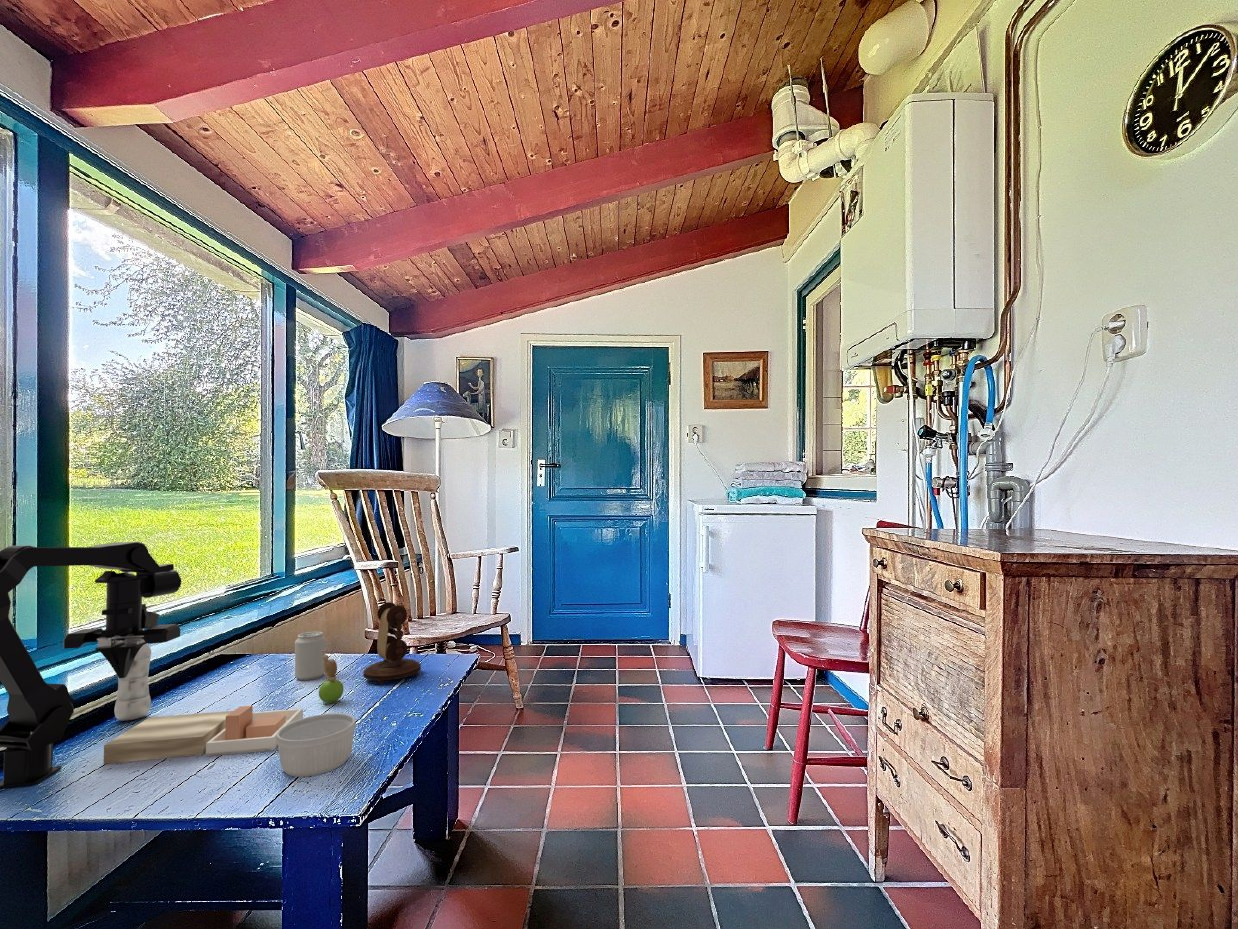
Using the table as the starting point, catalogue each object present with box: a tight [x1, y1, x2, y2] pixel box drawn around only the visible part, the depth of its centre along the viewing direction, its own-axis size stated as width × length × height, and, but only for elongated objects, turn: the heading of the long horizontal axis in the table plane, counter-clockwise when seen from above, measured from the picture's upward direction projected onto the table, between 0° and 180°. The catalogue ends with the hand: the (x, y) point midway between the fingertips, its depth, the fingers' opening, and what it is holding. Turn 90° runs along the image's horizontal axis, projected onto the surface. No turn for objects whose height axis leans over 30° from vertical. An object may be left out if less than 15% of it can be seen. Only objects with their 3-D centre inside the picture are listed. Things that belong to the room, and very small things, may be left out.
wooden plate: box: [103, 710, 234, 765], centre depth 119 cm, size 14×17×4 cm
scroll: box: [362, 601, 422, 686], centre depth 161 cm, size 15×15×20 cm
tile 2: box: [246, 715, 286, 739], centre depth 122 cm, size 6×6×2 cm
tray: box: [205, 707, 304, 757], centre depth 122 cm, size 16×12×2 cm
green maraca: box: [318, 649, 345, 704], centre depth 142 cm, size 5×6×12 cm
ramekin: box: [276, 712, 357, 778], centre depth 109 cm, size 13×13×7 cm
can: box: [294, 631, 326, 681], centre depth 163 cm, size 8×8×12 cm
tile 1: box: [225, 705, 254, 740], centre depth 120 cm, size 6×6×2 cm
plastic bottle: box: [113, 629, 152, 722], centre depth 134 cm, size 6×7×20 cm
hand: (122, 677), depth 121 cm, fingers closed
